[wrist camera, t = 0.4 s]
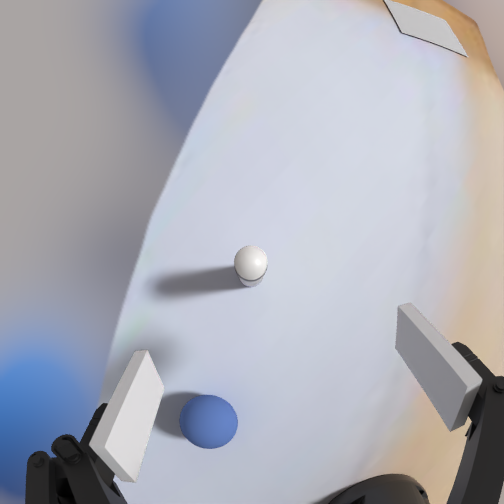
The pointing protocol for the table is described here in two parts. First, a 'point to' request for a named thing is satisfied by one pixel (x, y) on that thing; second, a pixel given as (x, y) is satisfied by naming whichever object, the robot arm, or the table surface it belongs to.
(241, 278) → the pin
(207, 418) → the ball
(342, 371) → the table surface
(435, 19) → the paper stack
